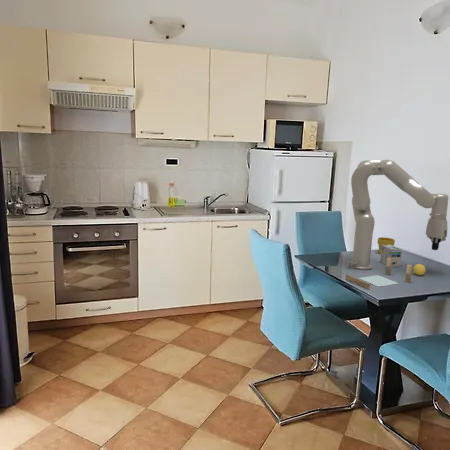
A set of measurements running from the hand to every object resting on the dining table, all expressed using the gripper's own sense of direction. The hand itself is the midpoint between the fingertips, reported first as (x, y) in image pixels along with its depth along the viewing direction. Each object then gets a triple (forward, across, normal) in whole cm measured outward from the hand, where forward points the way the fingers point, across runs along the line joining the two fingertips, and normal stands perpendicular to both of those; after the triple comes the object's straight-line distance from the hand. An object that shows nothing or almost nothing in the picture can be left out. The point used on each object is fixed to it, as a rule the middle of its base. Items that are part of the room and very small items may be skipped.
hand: (434, 249), depth 228 cm
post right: (+13, +6, -26) cm, 30 cm away
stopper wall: (+12, -1, -54) cm, 56 cm away
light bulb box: (+13, -22, -9) cm, 27 cm away
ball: (+10, 0, -10) cm, 15 cm away
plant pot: (+13, -42, +8) cm, 44 cm away
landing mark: (+13, 0, -40) cm, 42 cm away
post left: (+13, -7, -26) cm, 30 cm away
